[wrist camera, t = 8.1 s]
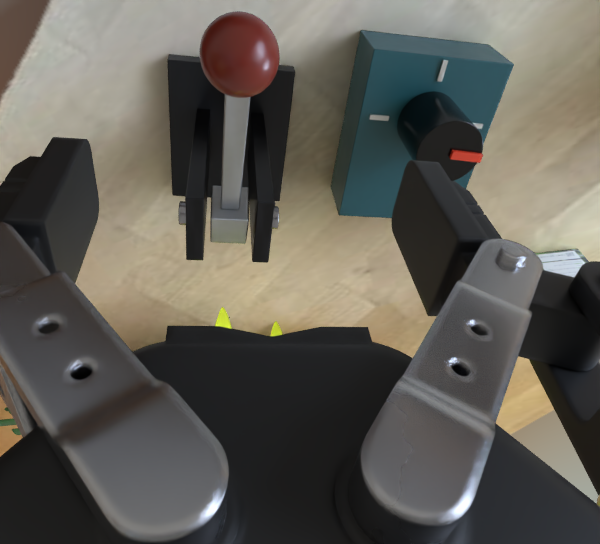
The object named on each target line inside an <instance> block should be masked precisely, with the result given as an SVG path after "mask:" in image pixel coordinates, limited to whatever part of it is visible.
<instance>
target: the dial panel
mask: <svg viewBox="0 0 600 544" xmlns="http://www.w3.org/2000/svg"><path fill="white" fill-rule="evenodd" d="M513 66H514V64H513V63H512V62H510V61H509V60H508V59H506V58H505V57H504V56H503V55H501V54H500V53H499V52H497V51H496V50H495V49H493V48H492V47H491V46H490V45H487V44H478V43H470V42H461V41H452V40H443V39H434V38H426V37H417V36H408V35H399V34H390V33H381V32H373V31H364V30H361V31H360V36H359V41H358V47H357V52H356V57H355V62H354V68H353V73H352V78H351V83H350V88H349V94H348V99H347V104H346V109H345V115H344V120H343V125H342V130H341V135H340V141H339V146H338V151H337V156H336V162H335V167H334V172H333V177H332V182H331V190H332V193H333V197H334V200H335V203H336V207H337V210H338V214H339V215H343V216H362V217H382V218H392V213H393V209H394V205H395V202H396V198H397V195H398V191H399V187H400V184H401V180H402V177H403V173H404V170H405V167H406V165H407V163H408V162H409V161H411V160H412V158H411V156H410V155H409V153H408V151H407V150H406V148H405V146H404V144H403V143H402V141H401V139H400V137H399V135H398V131H397V122H398V118H399V115H400V113H401V111H402V109H403V108H404V106H405V105H406V104H407V103H408V102H409V101H410V100H411V99H413V98H414V97H416V96H417V95H420V94H422V93H425V92H431V91H436V92H441V93H444V94H446V95H448V96H449V97H450V98H451V99H452V100H453V101H454V102H455V103H456V105H457V106H458V107H459V108H460V109H461V110H462V111H463V113H464V114H465V115H466V116H467V117H468V118H469V119H470V121H471V122H472V123H473V124H474V125H475V126H476V127H477V129H478V130H479V131H480V133H481V135H482V139H483V143H484V141H485V138H486V135H487V133H488V130H489V128H490V125H491V122H492V120H493V117H494V115H495V112H496V110H497V107H498V104H499V102H500V99H501V97H502V94H503V92H504V89H505V86H506V84H507V81H508V79H509V76H510V73H511V71H512V68H513ZM473 169H474V168H473ZM473 169H472V170H471V171H470V172H468V173H467V174H466V175H464V176H463V177H461V178H459V179H457V180H455V181H456V182H457V183H458V184H460V185H461V186H462V187H464V188H465V189H466V187H467V184H468V182H469V179H470V177H471V174H472V172H473Z"/></svg>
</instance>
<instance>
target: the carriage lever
mask: <svg viewBox="0 0 600 544" xmlns="http://www.w3.org/2000/svg"><path fill="white" fill-rule="evenodd" d="M200 62H201V66H202V69H203V71H204V74H205V76H206V77H207V79H208V80H209V82H210V83H211V84H212V85H213V86H214V87H215V88H216V89H217V90H219V91H220V92H222V93H224V94H225V100H224V127H223V154H222V182H221V186H212V198H211V242H216V243H241V244H245V243H246V238H247V230H248V222H249V188H247V187H242V178H243V168H244V158H245V147H246V137H247V127H248V117H249V106H250V97H252V96H254V95H257V94H259V93H261V92H262V91H263V90H265V89H266V88H267V87H268V86H269V85H270V84H271V82H272V81H273V79H274V77H275V75H276V73H277V70H278V66H279V47H278V43H277V40H276V38H275V36H274V34H273V32H272V31H271V29H270V28H269V27H268V25H267V24H266V23H265V22H263V21H262V20H261V19H260V18H258V17H256V16H254V15H252V14H249V13H246V12H230V13H226V14H224V15H221V16H219V17H218V18H216V19H215V20H214V21H213V22H212V23H211V24H210V25H209V26H208V28H207V29H206V31H205V32H204V35H203V37H202V40H201V44H200Z"/></svg>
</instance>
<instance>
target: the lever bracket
mask: <svg viewBox="0 0 600 544" xmlns="http://www.w3.org/2000/svg"><path fill="white" fill-rule="evenodd" d="M294 77H295V71H294V67H292V66H282V65H279V66H278V70H277V73H276V75H275V77H274V79H273V81H272V82H271V84H270V85H269V86H268V87H267V88H266V89H265V90H263V91H262V92H261V93H259V94H257V95H254V96H252V97H250V106H249V117H248V127H247V137H246V147H245V158H244V168H243V178H242V187H247V188H249V208H250V227H251V245H252V261H253V262H268V260H269V251H270V242H271V234H272V229H277V228H278V223H279V208H278V207H277V206H275V201H280V193H281V185H282V177H283V168H284V160H285V152H286V144H287V135H288V127H289V119H290V110H291V102H292V94H293V85H294ZM168 85H169V112H170V139H171V167H172V194H173V195H176V196H186V197H185V202H183V201H180V203H179V224H180V225H186V259H187V260H203V255H204V240H205V224H206V209H207V197H212V186H221V182H222V154H223V127H224V100H225V94H224V93H222V92H220V91H219V90H217V89H216V88H215V87H214V86H213V85H212V84H211V83H210V82H209V80H208V79H207V77H206V76H205V74H204V71H203V69H202V66H201V62H200V57H191V56H181V55H171V54H170V55H169V57H168Z"/></svg>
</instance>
